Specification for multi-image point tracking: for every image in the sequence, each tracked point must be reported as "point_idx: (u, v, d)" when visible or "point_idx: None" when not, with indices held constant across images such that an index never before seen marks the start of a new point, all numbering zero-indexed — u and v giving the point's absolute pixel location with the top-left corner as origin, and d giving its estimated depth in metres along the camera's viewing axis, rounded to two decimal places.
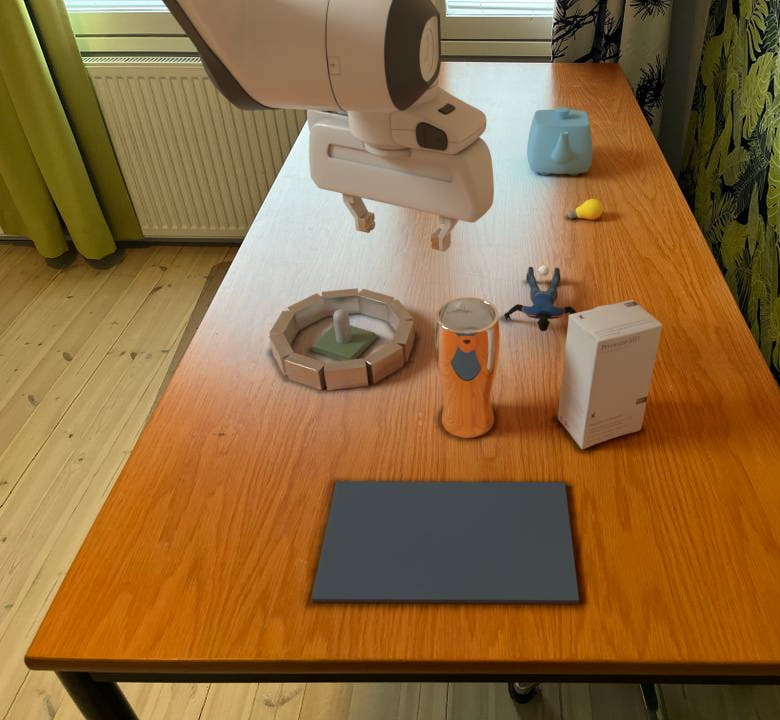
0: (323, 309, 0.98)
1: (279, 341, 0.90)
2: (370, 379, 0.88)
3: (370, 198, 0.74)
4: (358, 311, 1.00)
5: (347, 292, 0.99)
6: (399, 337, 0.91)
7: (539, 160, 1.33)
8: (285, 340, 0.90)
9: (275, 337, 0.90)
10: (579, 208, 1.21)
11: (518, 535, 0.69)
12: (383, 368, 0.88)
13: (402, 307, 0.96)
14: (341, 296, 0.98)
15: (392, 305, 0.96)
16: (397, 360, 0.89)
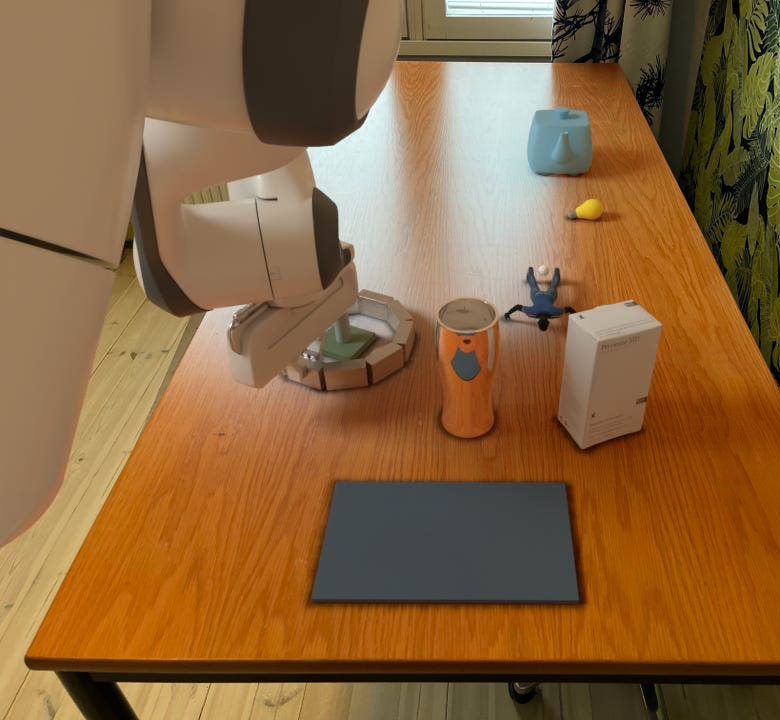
0: None
1: None
2: (370, 379, 0.88)
3: (299, 353, 0.82)
4: (358, 311, 1.00)
5: None
6: (399, 338, 0.90)
7: (539, 160, 1.33)
8: None
9: None
10: (579, 208, 1.21)
11: (518, 535, 0.69)
12: (383, 368, 0.88)
13: (401, 308, 0.96)
14: None
15: (392, 305, 0.96)
16: (397, 360, 0.89)
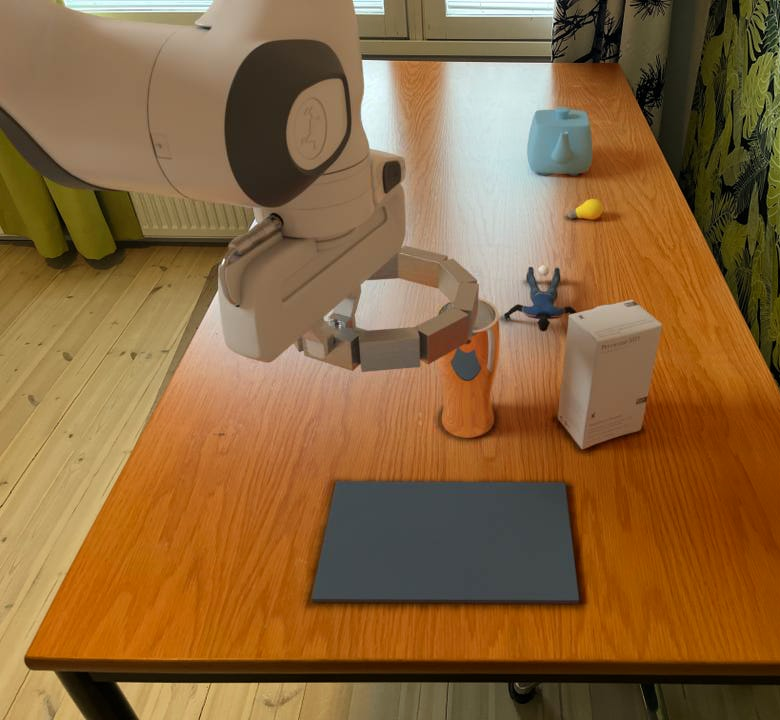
0: None
1: None
2: (422, 358, 0.62)
3: (326, 313, 0.56)
4: (397, 276, 0.74)
5: None
6: (462, 303, 0.64)
7: (539, 160, 1.33)
8: None
9: None
10: (579, 208, 1.21)
11: (518, 535, 0.69)
12: (442, 342, 0.62)
13: (460, 268, 0.70)
14: None
15: (447, 265, 0.70)
16: (460, 333, 0.63)
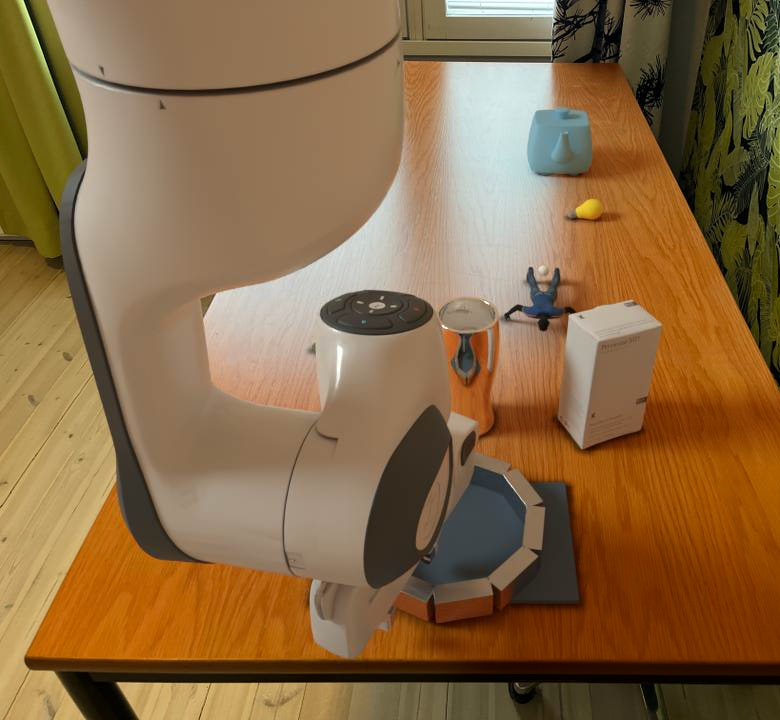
0: None
1: None
2: (494, 604, 0.63)
3: None
4: None
5: None
6: (531, 538, 0.65)
7: (539, 160, 1.33)
8: None
9: None
10: (579, 208, 1.21)
11: (518, 535, 0.69)
12: (513, 588, 0.63)
13: (525, 483, 0.71)
14: None
15: (512, 478, 0.71)
16: (530, 573, 0.64)
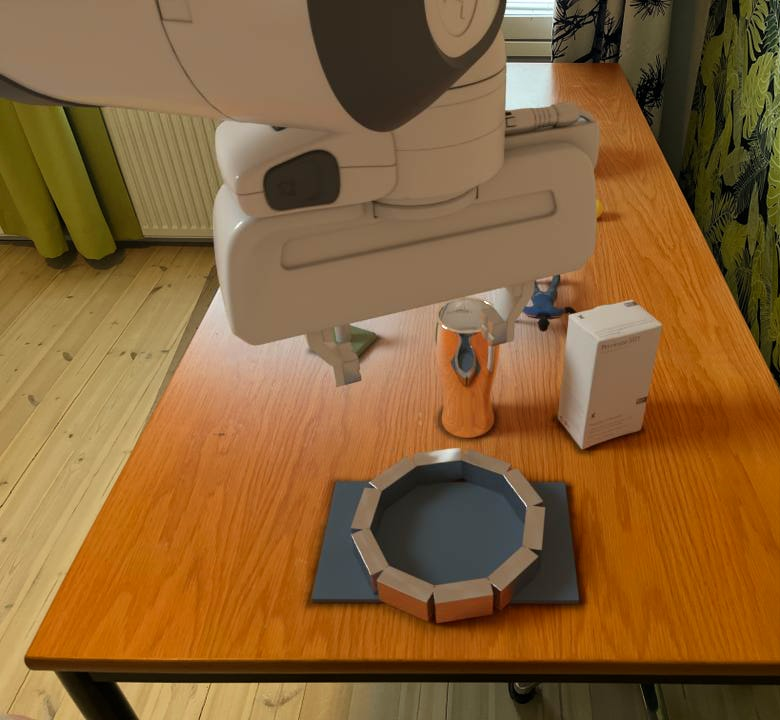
0: (416, 478, 0.73)
1: (366, 544, 0.65)
2: (494, 604, 0.63)
3: None
4: (461, 478, 0.75)
5: (448, 454, 0.74)
6: (531, 538, 0.65)
7: None
8: (374, 542, 0.65)
9: (359, 537, 0.65)
10: None
11: (518, 535, 0.69)
12: (513, 588, 0.63)
13: (525, 483, 0.71)
14: (441, 461, 0.73)
15: (512, 478, 0.71)
16: (530, 573, 0.64)
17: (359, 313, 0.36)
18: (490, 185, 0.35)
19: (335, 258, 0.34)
